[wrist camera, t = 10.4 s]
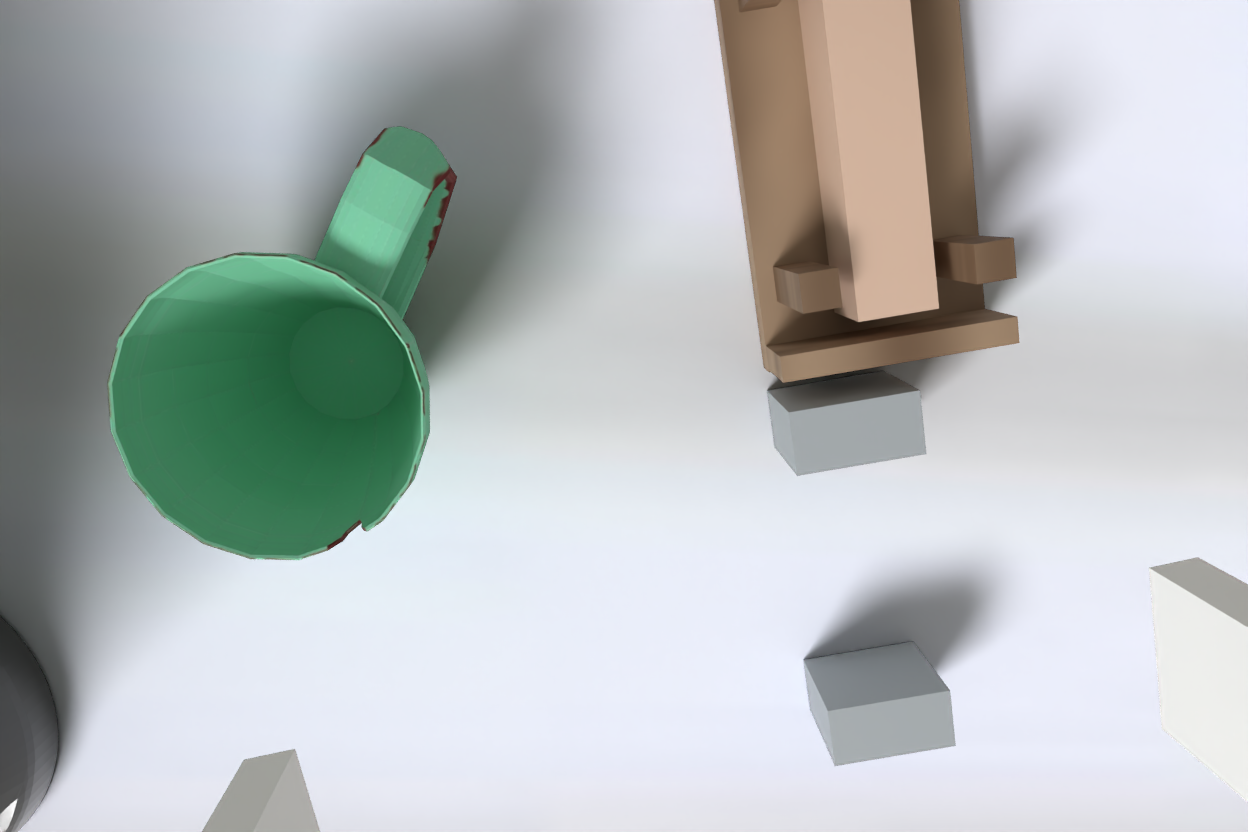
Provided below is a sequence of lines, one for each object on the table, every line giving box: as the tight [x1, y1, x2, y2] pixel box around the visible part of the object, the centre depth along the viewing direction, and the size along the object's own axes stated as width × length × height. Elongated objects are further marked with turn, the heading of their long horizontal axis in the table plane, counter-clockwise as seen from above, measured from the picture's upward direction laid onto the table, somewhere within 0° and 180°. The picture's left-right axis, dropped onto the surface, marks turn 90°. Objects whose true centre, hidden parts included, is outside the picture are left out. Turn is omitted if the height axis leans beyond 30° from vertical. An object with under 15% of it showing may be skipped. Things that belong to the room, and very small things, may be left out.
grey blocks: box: [767, 371, 956, 766], centre depth 39 cm, size 5×15×4 cm, turn 10°
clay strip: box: [798, 0, 939, 322], centre depth 35 cm, size 3×14×4 cm, turn 9°
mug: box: [107, 126, 457, 560], centre depth 34 cm, size 15×10×10 cm
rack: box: [714, 0, 1019, 383], centre depth 35 cm, size 9×18×6 cm, turn 9°
